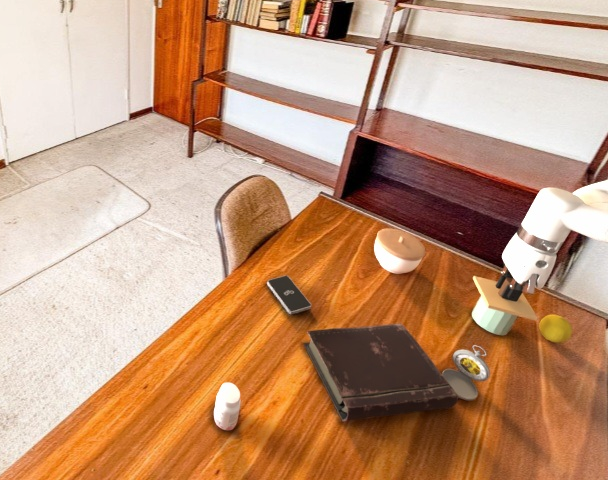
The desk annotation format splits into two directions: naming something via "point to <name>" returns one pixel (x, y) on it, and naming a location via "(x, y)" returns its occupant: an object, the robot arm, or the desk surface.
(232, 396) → the pill bottle
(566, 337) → the lemon
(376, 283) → the desk surface
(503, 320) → the cup
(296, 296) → the external hard drive
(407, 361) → the diary
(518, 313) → the square peg board
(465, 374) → the pocket watch
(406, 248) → the lidded bowl
